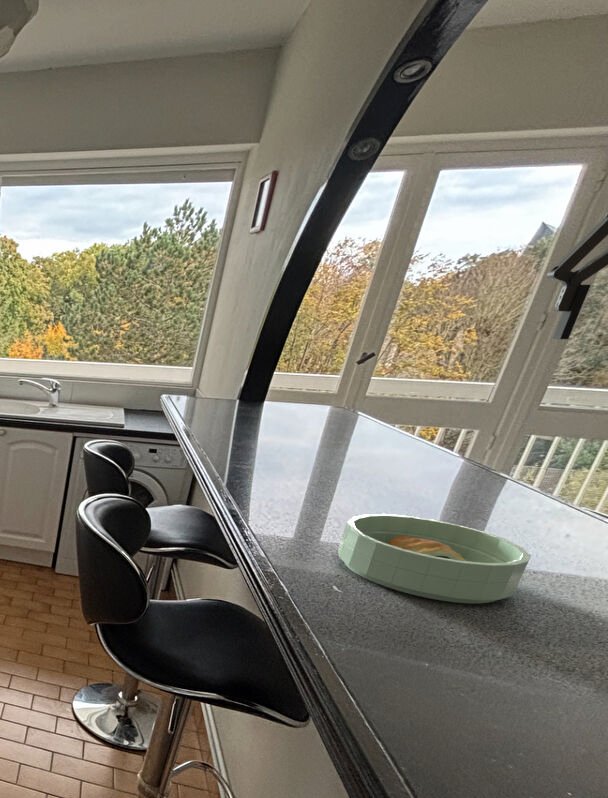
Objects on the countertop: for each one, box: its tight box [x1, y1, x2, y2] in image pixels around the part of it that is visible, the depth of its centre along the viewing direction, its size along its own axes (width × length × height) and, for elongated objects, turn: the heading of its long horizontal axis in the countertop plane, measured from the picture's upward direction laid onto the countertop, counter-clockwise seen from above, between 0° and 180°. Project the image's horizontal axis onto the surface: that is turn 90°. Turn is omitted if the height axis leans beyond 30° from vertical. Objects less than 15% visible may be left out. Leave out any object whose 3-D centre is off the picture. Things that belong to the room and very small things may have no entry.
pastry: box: [387, 536, 466, 561], centre depth 72 cm, size 9×7×4 cm
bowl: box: [337, 513, 532, 604], centre depth 71 cm, size 16×16×5 cm
